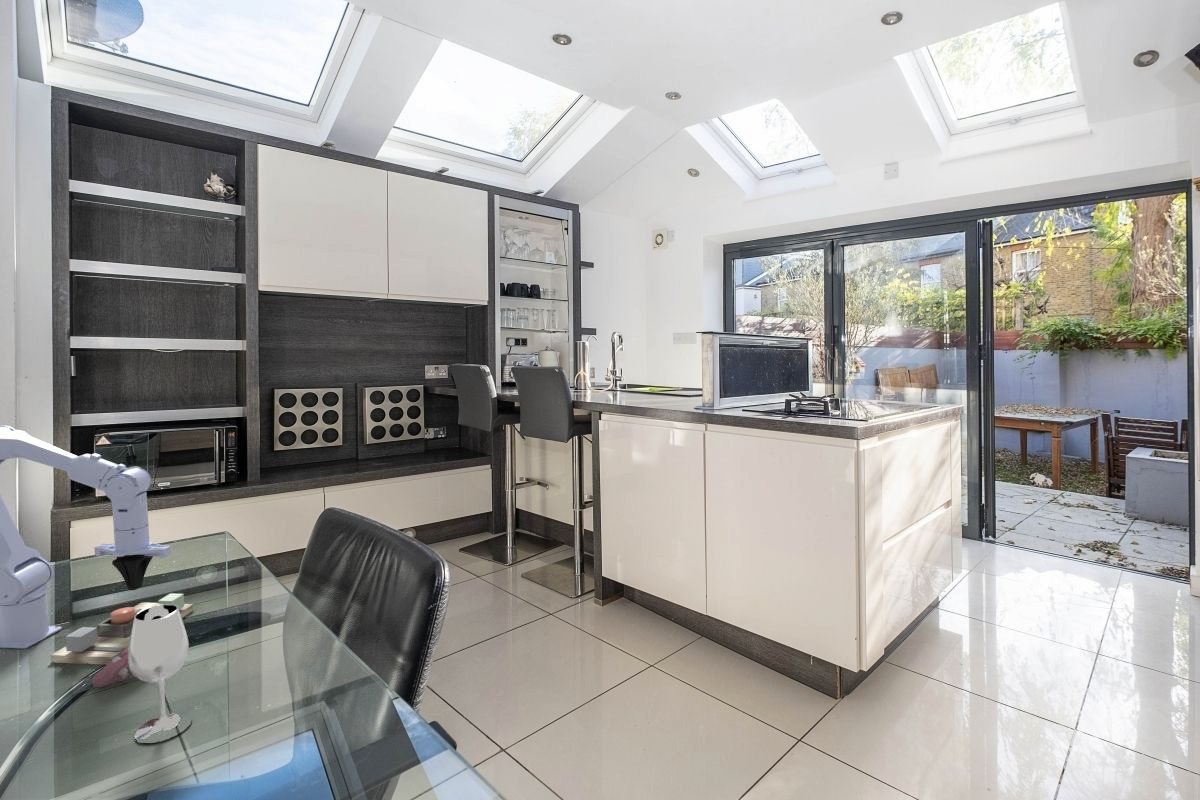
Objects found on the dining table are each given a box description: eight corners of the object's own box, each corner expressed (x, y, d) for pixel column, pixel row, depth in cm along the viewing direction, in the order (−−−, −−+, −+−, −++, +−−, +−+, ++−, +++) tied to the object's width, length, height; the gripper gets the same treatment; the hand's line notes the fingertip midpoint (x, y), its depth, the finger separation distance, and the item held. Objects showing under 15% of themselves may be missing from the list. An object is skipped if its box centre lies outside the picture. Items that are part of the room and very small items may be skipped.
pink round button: (106, 627, 120) (105, 616, 119) (122, 618, 124) (121, 606, 123) (125, 628, 120) (124, 616, 119) (140, 618, 124) (140, 607, 123)
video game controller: (106, 699, 104) (118, 668, 103) (87, 685, 105) (99, 654, 103) (157, 668, 114) (169, 640, 113) (139, 655, 114) (151, 627, 113)
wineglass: (154, 713, 98) (147, 601, 96) (203, 712, 99) (197, 600, 97) (120, 746, 91) (112, 624, 88) (174, 744, 91) (166, 624, 89)
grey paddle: (66, 651, 113) (65, 636, 112) (83, 641, 116) (82, 627, 116) (81, 651, 113) (80, 637, 112) (98, 641, 116) (97, 627, 116)
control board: (51, 662, 112) (49, 642, 112) (142, 608, 134) (140, 592, 134) (112, 664, 112) (111, 645, 112) (193, 610, 134) (192, 593, 133)
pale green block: (158, 613, 128) (158, 600, 128) (171, 606, 131) (170, 593, 131) (172, 614, 128) (171, 601, 128) (184, 606, 131) (183, 593, 131)
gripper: (79, 531, 118) (84, 595, 120) (151, 533, 118) (154, 597, 120) (108, 520, 125) (113, 580, 127) (176, 522, 125) (179, 583, 127)
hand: (135, 588), depth 124 cm, fingers closed
